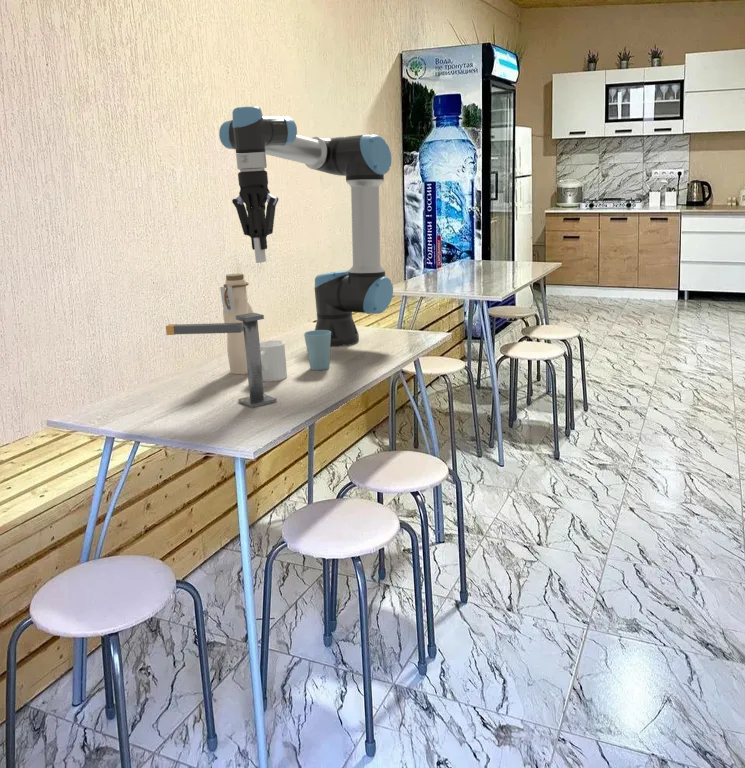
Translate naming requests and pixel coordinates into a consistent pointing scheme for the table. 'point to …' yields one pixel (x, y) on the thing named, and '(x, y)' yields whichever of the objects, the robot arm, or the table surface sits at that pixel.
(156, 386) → the table surface
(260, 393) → the post
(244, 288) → the water bottle
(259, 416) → the table surface
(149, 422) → the table surface
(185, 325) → the bar
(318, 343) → the cup
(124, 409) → the table surface
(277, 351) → the mug
